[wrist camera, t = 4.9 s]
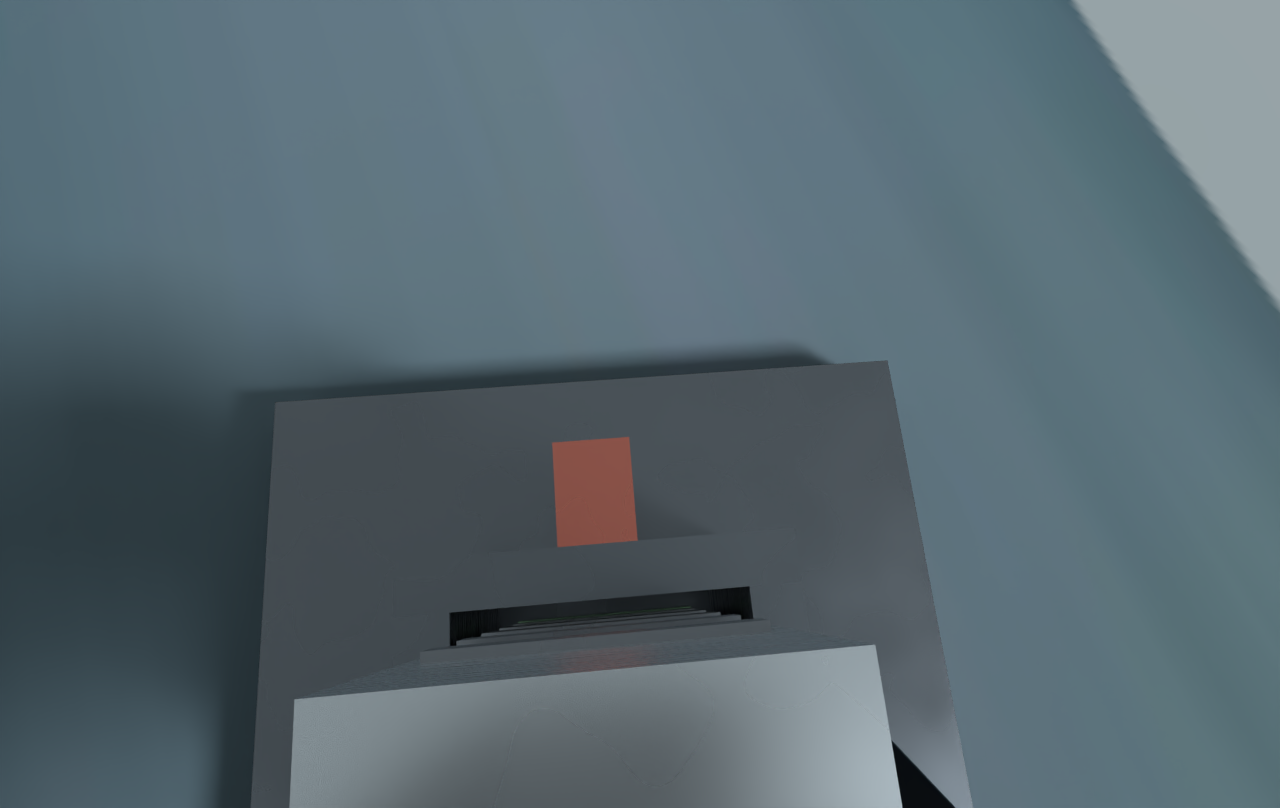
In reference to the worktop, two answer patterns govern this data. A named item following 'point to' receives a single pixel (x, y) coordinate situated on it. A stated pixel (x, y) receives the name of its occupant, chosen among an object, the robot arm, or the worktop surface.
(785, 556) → the stand
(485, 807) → the block
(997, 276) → the worktop surface
